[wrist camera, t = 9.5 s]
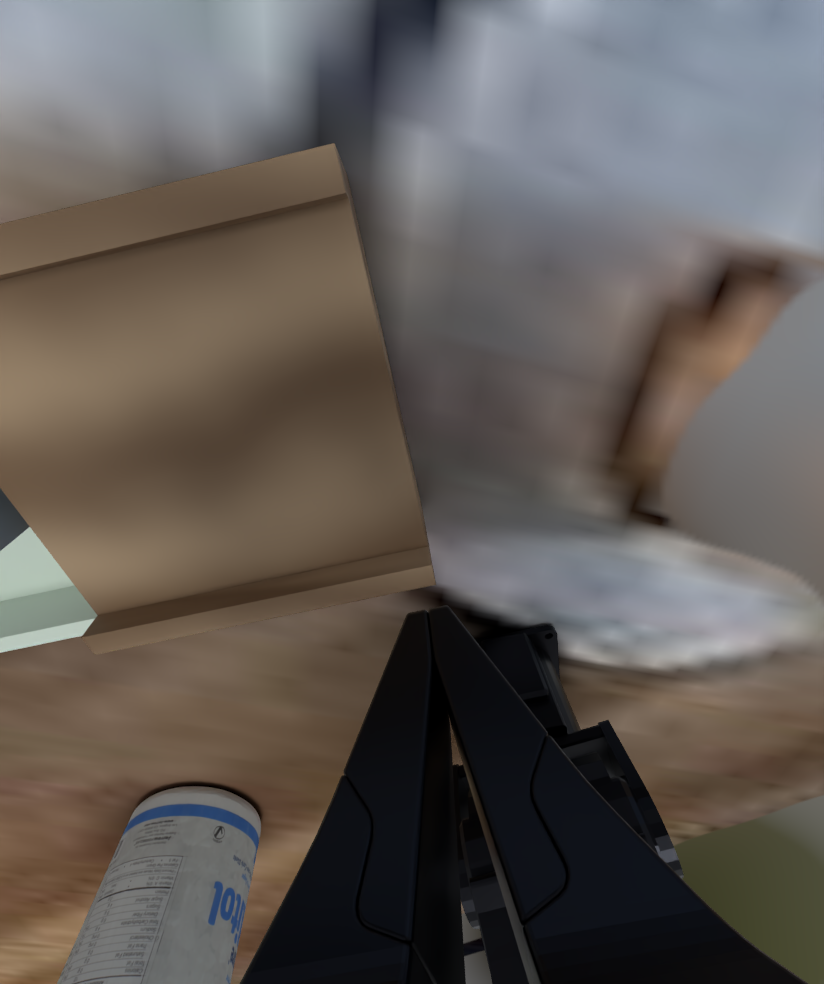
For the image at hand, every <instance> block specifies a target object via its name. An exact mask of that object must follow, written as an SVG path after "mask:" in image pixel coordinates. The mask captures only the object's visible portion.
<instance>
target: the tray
mask: <svg viewBox="0 0 824 984" xmlns="http://www.w3.org/2000/svg"><path fill="white" fill-rule="evenodd" d="M96 617H97V614H96V613H95V611H94V610H93V609H92V607H91V606H90V605H89V604H88V602H87V601H86V600H85V598H84V597H83V596H82V594H81V593H80V592H79V590H78V589H77V588H76V587H75V585H74V584H73V583H72V581H71V580H70V579H69V577H68V576H67V575H66V573H65V572H64V571H63V570H62V568H61V567H60V566H59V564H58V563H57V562H56V560H55V559H54V558H53V556H52V555H51V554H50V553H49V551H48V550H47V549H46V547H45V546H44V545H43V543H42V542H41V541H40V539H39V538H38V537H37V536H36V534H35V533H34V532H33V530H32V529H31V528H30V527H29V528H28V529H27V530H25V531H24V532H23V533H22V534H20V535H19V536H18V537H17V538H16V539H14V540H13V541H12V542H11V543H9V544H8V545H7V546H6V547H5V548H3V549H2V550H1V551H0V653H1V652H6V651H11V650H15V649H20V648H25V647H30V646H35V645H39V644H44V643H49V642H54V641H59V640H64V639H68V638H73V637H78V636H83V634H84V633H85V632H86V630H87V629H88V627H89V626H90V625H91V623H92V622H93V621H94V619H95V618H96Z"/></svg>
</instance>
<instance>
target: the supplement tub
mask: <svg viewBox="0 0 824 984" xmlns="http://www.w3.org/2000/svg"><path fill="white" fill-rule="evenodd" d="M260 833H261V821H260V818H259V815H258V813H257V811H256V810H255V809H254V807H253V806H252V805H251V804H250V803H248V802H247V801H246V800H244V799H242V798H241V797H239V796H237V795H235V794H233V793H231V792H228V791H225V790H222V789H217V788H213V787H204V786H185V787H177V788H172V789H168V790H164V791H161V792H159V793H156V794H154V795H152V796H150V797H149V798H147V799H146V800H144V801H143V802H142V803H141V804H140V805H139V806H138V807H137V808H136V809H135V811H134V812H133V814H132V816H131V818H130V820H129V822H128V825H127V827H126V829H125V831H124V833H123V835H122V838H121V840H120V842H119V844H118V847H117V849H116V851H115V853H114V856H113V858H112V860H111V862H110V865H109V867H108V869H107V872H106V874H105V876H104V879H103V881H102V883H101V885H100V888H99V890H98V892H97V894H96V897H95V899H94V901H93V903H92V905H91V908H90V910H89V912H88V914H87V917H86V919H85V921H84V924H83V926H82V928H81V930H80V933H79V935H78V937H77V940H76V942H75V944H74V946H73V949H72V951H71V953H70V955H69V958H68V960H67V962H66V965H65V967H64V969H63V971H62V974H61V976H60V978H59V980H58V983H57V984H230V983H231V977H232V972H233V968H234V963H235V958H236V953H237V948H238V943H239V938H240V933H241V928H242V923H243V918H244V913H245V909H246V904H247V898H248V893H249V888H250V883H251V879H252V874H253V869H254V864H255V858H256V853H257V848H258V843H259V838H260Z"/></svg>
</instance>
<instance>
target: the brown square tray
mask: <svg viewBox="0 0 824 984" xmlns="http://www.w3.org/2000/svg"><path fill="white" fill-rule="evenodd" d="M0 488H1V490H2V491H3V492H4V494H5V495H6V496H7V498H8V499H9V500H10V502H11V503H12V504H13V505H14V507H15V508H16V509H17V511H18V512H19V513H20V515H21V516H22V517H23V519H24V520H25V521H26V522H27V524H28V525H29V526H30V528H31V529H32V530H33V532H34V533H35V534H36V536H37V537H38V538H39V539H40V541H41V542H42V543H43V545H44V546H45V547H46V549H47V550H48V551H49V553H50V554H51V555H52V556H53V558H54V559H55V560H56V562H57V563H58V564H59V566H60V567H61V568H62V570H63V571H64V572H65V573H66V575H67V576H68V577H69V579H70V580H71V581H72V583H73V584H74V585H75V587H76V588H77V589H78V590H79V592H80V593H81V594H82V596H83V597H84V598H85V600H86V601H87V602H88V604H89V605H90V606H91V607H92V609H93V610H94V611H95V613H96V614H97V617H96V618H95V619H94V621H93V622H92V623H91V625H90V626H89V627H88V629H87V630H86V632H85V633H84V634H83V636H82V637H81V638H82V640H83V641H84V642H85V643H86V645H87V646H88V647H89V648H90V649H91V651H92V652H93V653H94V654H95V655H96V654H101V653H106V652H111V651H116V650H121V649H126V648H130V647H135V646H140V645H145V644H150V643H155V642H160V641H164V640H169V639H174V638H179V637H184V636H189V635H194V634H199V633H203V632H208V631H213V630H218V629H223V628H228V627H233V626H237V625H242V624H247V623H252V622H257V621H262V620H267V619H271V618H276V617H281V616H286V615H291V614H296V613H301V612H305V611H310V610H315V609H320V608H325V607H330V606H335V605H339V604H344V603H349V602H354V601H359V600H364V599H369V598H373V597H378V596H383V595H388V594H393V593H398V592H403V591H407V590H412V589H417V588H422V587H427V586H432V585H436V582H435V577H434V571H433V566H432V560H431V554H430V549H429V543H428V538H427V532H426V527H425V521H424V516H423V510H422V505H421V501H420V497H419V492H418V488H417V483H416V479H415V474H414V470H413V465H412V461H411V457H410V452H409V448H408V443H407V439H406V434H405V430H404V425H403V421H402V417H401V412H400V408H399V403H398V399H397V394H396V390H395V385H394V381H393V377H392V372H391V368H390V363H389V359H388V354H387V350H386V345H385V341H384V337H383V332H382V328H381V323H380V319H379V314H378V310H377V305H376V301H375V297H374V292H373V288H372V283H371V279H370V274H369V270H368V265H367V261H366V257H365V252H364V248H363V243H362V239H361V234H360V230H359V225H358V221H357V217H356V212H355V208H354V203H353V199H352V194H351V190H350V186H349V181H348V177H347V174H346V171H345V169H344V166H343V164H342V161H341V159H340V156H339V154H338V151H337V148H336V146H335V143H333V144H329V145H325V146H320V147H316V148H312V149H308V150H304V151H300V152H296V153H291V154H287V155H283V156H279V157H275V158H271V159H267V160H263V161H258V162H254V163H250V164H246V165H242V166H238V167H234V168H230V169H225V170H221V171H217V172H213V173H209V174H205V175H201V176H197V177H192V178H188V179H184V180H180V181H176V182H172V183H168V184H164V185H159V186H155V187H151V188H147V189H143V190H139V191H135V192H130V193H126V194H122V195H118V196H114V197H110V198H106V199H102V200H97V201H93V202H89V203H85V204H81V205H77V206H73V207H69V208H64V209H60V210H56V211H52V212H48V213H44V214H40V215H36V216H31V217H27V218H23V219H19V220H15V221H11V222H7V223H3V224H0Z"/></svg>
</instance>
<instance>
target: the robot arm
mask: <svg viewBox="0 0 824 984" xmlns="http://www.w3.org/2000/svg"><path fill="white" fill-rule="evenodd" d="M448 714H449V715H448ZM449 718H450V721H451V725H452V729H453V733H454V736H455V739H456V743H457V746H458V749H459V753H460V756H461V759H462V763H463V765H460V766H459V765H458V764H456V765H453V766H452V749H451V733H450V722H449ZM681 878H683V872H682V868H681V865H680V862H679V859H678V857H677V855H676V852H675V849H674V847H673V844H672V842H671V840H670V837H669V835H668V833H667V830H666V828H665V826H664V824H663V821H662V819H661V817H660V815H659V813H658V811H657V809H656V807H655V805H654V803H653V801H652V799H651V797H650V795H649V793H648V791H647V789H646V787H645V785H644V783H643V782H642V780H641V778H640V776H639V774H638V773H637V771H636V769H635V767H634V765H633V764H632V762H631V760H630V758H629V756H628V755H627V753H626V751H625V749H624V747H623V746H622V744H621V742H620V740H619V738H618V737H617V735H616V733H615V731H614V729H613V728H612V726H611V724H610V722H609V721H608V720H606V721H603V722H599V723H598V725H596V726H593V727H590V728H586V729H583V730H581V729H580V727H579V724H578V722H577V720H576V717H575V715H574V713H573V710H572V708H571V706H570V703H569V701H568V699H567V696H566V694H565V691H564V689H563V687H562V684H561V682H560V677H559V659H558V641H557V633H556V631H555V628H554V627H553V626H551V625H545V626H540V627H535V628H531V629H526V630H521V631H516V632H511V633H506V634H501V635H496V636H491V637H486V638H481V639H476V640H475V639H474V638H473V637H472V635H471V634H470V633H469V632H468V630H467V629H466V628H465V627H464V625H463V624H462V623H461V621H460V620H459V619H458V618H457V616H456V615H455V614H454V613H453V611H452V610H451V609H450V608H449V607H448V606H441V607H436V608H431V609H429V611H428V612H427V611H426V610H421V611H416V612H411V613H409V614H407V616H406V618H405V620H404V623H403V625H402V628H401V630H400V633H399V635H398V638H397V640H396V643H395V645H394V648H393V650H392V653H391V655H390V657H389V660H388V662H387V665H386V667H385V670H384V672H383V675H382V677H381V680H380V682H379V685H378V687H377V690H376V692H375V695H374V697H373V700H372V702H371V704H370V707H369V709H368V712H367V714H366V717H365V719H364V722H363V724H362V727H361V729H360V732H359V734H358V737H357V739H356V742H355V744H354V747H353V749H352V751H351V754H350V756H349V759H348V761H347V764H346V766H345V769H344V775H343V776H341V778H340V781H339V783H338V786H337V788H336V791H335V793H334V796H333V798H332V800H331V803H330V805H329V807H328V810H327V812H326V814H325V816H324V819H323V821H322V823H321V826H320V828H319V830H318V833H317V835H316V837H315V839H314V841H313V843H312V845H311V847H310V849H309V851H308V853H307V855H306V857H305V859H304V861H303V863H302V865H301V867H300V869H299V871H298V873H297V875H296V877H295V879H294V881H293V883H292V885H291V887H290V888H289V890H288V892H287V894H286V896H285V898H284V900H283V902H282V904H281V906H280V908H279V910H278V912H277V913H276V915H275V917H274V919H273V921H272V923H271V925H270V927H269V929H268V931H267V933H266V935H265V936H264V938H263V940H262V942H261V944H260V946H259V948H258V950H257V952H256V954H255V956H254V958H253V960H252V961H251V963H250V965H249V967H248V969H247V971H246V973H245V975H244V977H243V979H242V980H241V982H240V984H466V982H465V966H464V949H463V932H462V916H461V902H462V905H463V908H464V911H465V914H466V916H467V918H468V920H469V923H470V924H471V926H472V927H473V928H474V929H478V928H480V931H481V935H482V939H483V944H484V948H485V952H486V956H487V960H488V964H489V969H490V972H491V977H492V983H493V984H808V983H807V982H805V981H804V980H802V979H801V978H799V977H798V976H796V975H795V974H794V973H792V972H791V971H789V970H788V969H786V968H785V967H783V966H782V965H781V964H779V963H778V962H776V961H775V960H773V959H772V958H771V957H769V956H768V955H766V954H765V953H764V952H762V951H761V950H759V949H758V948H757V947H755V946H754V945H753V944H752V943H750V942H749V941H748V940H747V939H745V938H744V937H743V936H742V935H741V934H739V933H738V932H737V931H736V930H735V929H734V928H732V927H731V926H730V925H729V924H728V923H727V922H726V921H725V920H723V919H722V918H721V917H720V916H719V915H718V914H717V913H716V912H715V911H714V910H712V908H710V907H709V906H708V905H707V904H706V903H705V902H704V901H703V900H702V899H701V898H700V897H699V896H698V895H697V894H696V893H695V892H694V891H693V890H692V889H691V888H690V887H689V886H688V885H687V884H686V883H685V882H684V881H683V880H682V879H681Z"/></svg>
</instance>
